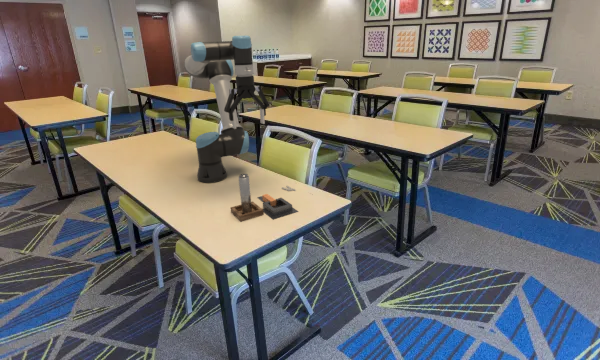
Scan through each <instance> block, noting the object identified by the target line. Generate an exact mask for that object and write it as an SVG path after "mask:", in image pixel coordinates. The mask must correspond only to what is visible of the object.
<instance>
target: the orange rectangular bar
mask: <svg viewBox="0 0 600 360" xmlns="http://www.w3.org/2000/svg"><path fill="white" fill-rule="evenodd" d="M261 196H262V198H263V201H265V202H267V201H269V202H270V205H271V206H275V205H276V198H274V197H272V196H271V195H269V194H268V193H265V194H262V195H261Z"/></svg>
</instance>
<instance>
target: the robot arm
mask: <svg viewBox="0 0 600 360" xmlns="http://www.w3.org/2000/svg"><path fill="white" fill-rule="evenodd" d="M252 46H253V43H252V38H251V37H250V35H233V36H232V40H226V41H225V40H223V41H198V42H197V41H196V42H192V43H191V44H190V53H191V55H188V56H186V58H185V60H184V62H183V67H184V70H185V72H186V73H187V74H188V75H189V76H191V77H192V78H196V79H203V80H204V79H209V83H210V84H211V85H213V89H214V93H215V98H216V102H217V106H218V112H219V116H220V119H221V125H222V129H221V131H220V134H219V132H218V131H208V132H204V133H202V134H200V135H197V137H196V138H195V148H196V152H197V153H196V154H197V159H198V160H197V161H198V168H197V173H196V174H197V175H196V176H197V178H196V179H197V181H198V182H199V183H204V184H209V183H210V184H211V183H218V182H221V181H224V180H225V179H227V177H228V171H227V170H226V168H225V166H224V164H223V159H222V158H225V157H231V156H237V155H238V156H239V155H243V154H247V152H248V150H249V148H250V137H249V133H248V131H247V130H244V127H243V126H242V125H241V124H240V123H239V119H238V113H237V109H236V108H238V105H239V104H240V102H241V101H242V100H243V99H251V98H252V99H253V100H254V101H255V102H256V104H257V105H258V106H259V107H260V108H259V118H260V124H262V125H265V124H266V121H265V118H266V115H267V113H266V112H267V110H266V109H267V108H269V107H270V103H269V101H268V100H267V99H268V98H266V95H265V94H264V92H263V89H262V86H261V85H256V86H255V76H254V63H253V49H252V48H253V47H252ZM232 61H233V62H232ZM233 64H234V65H233ZM234 74H235V76H236V77H235V84H236V85H235V86H236V88H232V87H231V81H232V78H233V77H234ZM255 92H257V93H258V96H259V97H260V98H259V97H258V96H257V95H256V93H255ZM236 94H237V95H236ZM235 95H236V97H235ZM234 98H235V99H234ZM260 99H261V100H260Z"/></svg>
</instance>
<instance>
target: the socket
mask: <svg viewBox="0 0 600 360" xmlns="http://www.w3.org/2000/svg"><path fill="white" fill-rule="evenodd" d="M256 199H258V200H260V202H262V209H263V212H264V215H266V216H267V217H269V218H270V219H271V220H272V221H274V220H277V219H280V218H283V217H286V216H290V215H292V214H297V213H299V211H298V210H297V209H296V208H294V207H293V204H291V202H288V201H287V200H286V199H284V198H283V197H279V198H275V200H276V205H275V206H271V205H270V202H269V201H267V202H265V201H263V198H262V195H261V196H257V197H256Z"/></svg>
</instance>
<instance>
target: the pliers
mask: <svg viewBox="0 0 600 360" xmlns="http://www.w3.org/2000/svg"><path fill="white" fill-rule="evenodd" d="M281 189H282V190H284V191H287V192H296V191H297V189H296V188H292V187H291V186H289V185H286V187H281ZM309 194H310V195H312V196H313V194H312V193H311V192H309Z"/></svg>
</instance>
